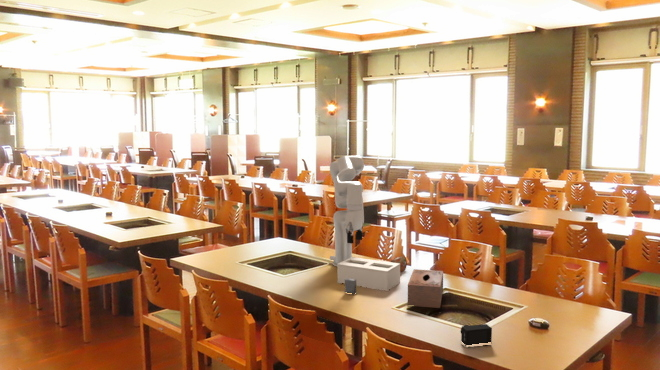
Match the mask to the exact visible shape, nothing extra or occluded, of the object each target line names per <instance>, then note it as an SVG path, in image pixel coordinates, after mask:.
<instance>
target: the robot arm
mask: <svg viewBox="0 0 660 370" xmlns="http://www.w3.org/2000/svg"><path fill="white" fill-rule="evenodd" d="M364 163H365V162H364V159H363V157H362V156H361V155H342V156H340V157H339V158H338V159H337V160H336V161H334V160H333V161H332V162H330V165H329V173H330V177H331V179H332V181H333V188H334V203H335V206H336V207H337V208H338V209H345V210H338V211H335V212H334V213H333V217H332V218H333V220H332V221H333V224H334V225H333V226H334V243H335V244H334V255H330V256H329V260H330V261H333V262H332V265H333V266H334V267H337V264H338V263H340V262H343V261H345V260H347V259H349V258H351V257H353V254H352V253H353V252H352V251H353V247H352V245H353V244H354V232H355V239H356V240H357V241H362V240H363V229H364V222H365V213H364V212H365V211H364V200H363V199H364V198H363V192H364V185H363V184H362V182H361V181H357V180H354V179H355V177H356V176H358V175H360V174H361V173H362V172H363V170H364V167H365V164H364Z"/></svg>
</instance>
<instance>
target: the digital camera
mask: <svg viewBox="0 0 660 370" xmlns="http://www.w3.org/2000/svg"><path fill="white" fill-rule="evenodd" d="M460 334H461V336H460V337H461V339H460V342H461V341H462V342H463V343H464V344H466V345H472V344H479V343H488V342H491V343H492V337H493V327H491V326H490V325H489V324H487V323H484V324H483V323H481V324H475V325H474V324H473V325H468V324H465V325H463V326H461V329H460Z"/></svg>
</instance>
